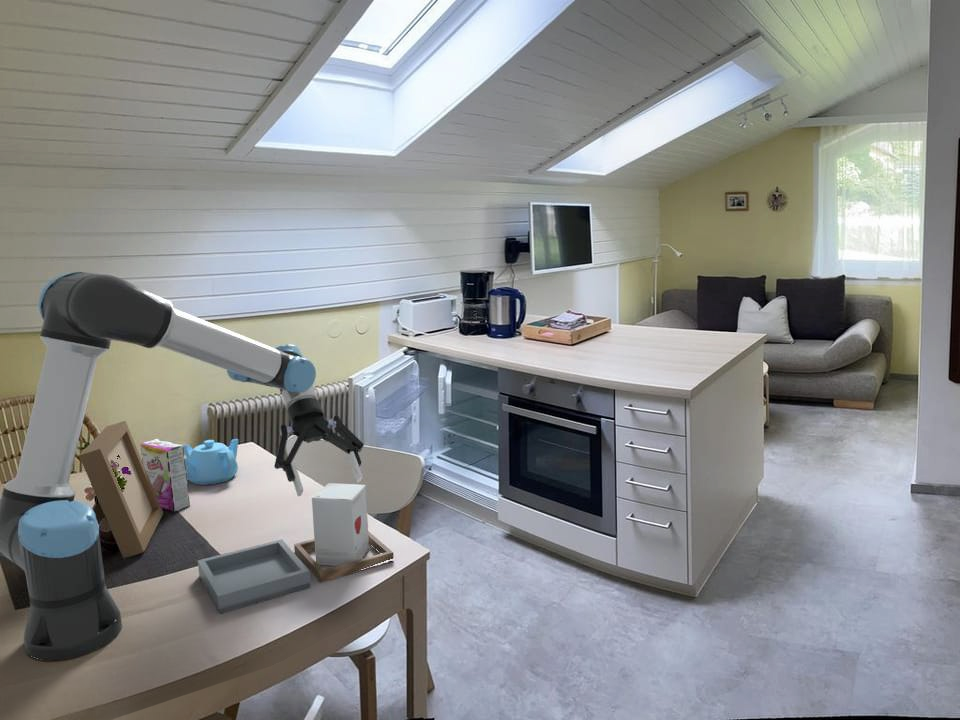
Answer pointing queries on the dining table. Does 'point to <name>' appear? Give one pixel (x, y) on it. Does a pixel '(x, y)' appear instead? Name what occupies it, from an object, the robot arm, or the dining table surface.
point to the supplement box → (340, 524)
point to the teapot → (211, 462)
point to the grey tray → (252, 575)
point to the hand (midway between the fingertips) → (330, 486)
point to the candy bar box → (166, 473)
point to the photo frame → (124, 511)
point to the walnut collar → (342, 569)
